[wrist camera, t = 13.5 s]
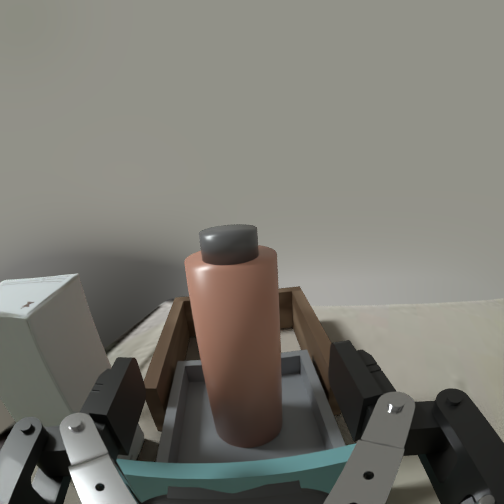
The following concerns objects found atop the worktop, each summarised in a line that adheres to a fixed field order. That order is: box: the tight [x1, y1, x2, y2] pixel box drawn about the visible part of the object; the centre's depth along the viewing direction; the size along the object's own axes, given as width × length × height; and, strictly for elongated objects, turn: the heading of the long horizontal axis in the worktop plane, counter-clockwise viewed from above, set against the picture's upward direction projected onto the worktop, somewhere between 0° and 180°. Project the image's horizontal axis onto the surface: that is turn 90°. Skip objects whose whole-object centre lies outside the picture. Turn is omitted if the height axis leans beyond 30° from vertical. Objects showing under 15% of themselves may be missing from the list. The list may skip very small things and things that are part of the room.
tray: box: [116, 350, 356, 502], centre depth 19 cm, size 16×15×6 cm
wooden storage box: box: [144, 287, 341, 431], centre depth 29 cm, size 15×17×5 cm
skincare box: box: [0, 274, 144, 461], centre depth 16 cm, size 8×6×15 cm
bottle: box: [185, 224, 283, 448], centre depth 19 cm, size 5×5×15 cm
